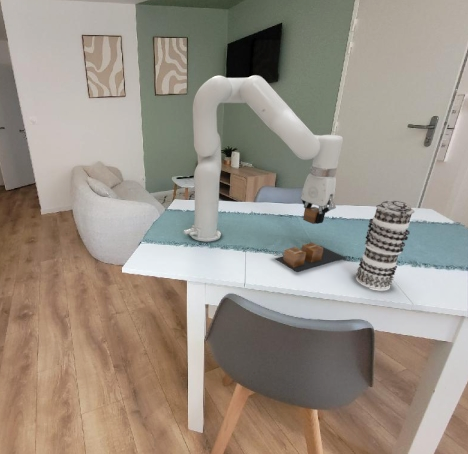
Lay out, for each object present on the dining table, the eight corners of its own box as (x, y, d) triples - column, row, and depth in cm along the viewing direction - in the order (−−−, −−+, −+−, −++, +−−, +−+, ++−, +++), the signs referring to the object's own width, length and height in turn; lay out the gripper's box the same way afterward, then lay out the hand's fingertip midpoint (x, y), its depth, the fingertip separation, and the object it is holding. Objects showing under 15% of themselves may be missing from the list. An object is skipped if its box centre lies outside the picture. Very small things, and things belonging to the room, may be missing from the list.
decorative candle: (348, 273, 92) (367, 198, 82) (381, 275, 90) (404, 198, 81) (362, 290, 84) (386, 208, 74) (398, 292, 82) (427, 209, 72)
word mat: (296, 273, 93) (297, 272, 93) (274, 259, 102) (274, 258, 102) (345, 258, 100) (346, 257, 100) (320, 247, 109) (321, 246, 109)
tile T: (313, 224, 106) (315, 212, 104) (303, 219, 110) (305, 208, 108) (322, 222, 107) (325, 210, 105) (312, 217, 111) (314, 206, 109)
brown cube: (310, 262, 98) (313, 250, 96) (300, 256, 102) (302, 245, 100) (321, 259, 100) (323, 247, 98) (309, 254, 104) (312, 242, 102)
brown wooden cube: (293, 267, 96) (295, 255, 94) (282, 261, 100) (284, 249, 98) (303, 264, 97) (306, 252, 95) (293, 258, 101) (295, 246, 99)
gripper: (295, 168, 107) (287, 214, 114) (337, 178, 93) (325, 230, 100) (311, 166, 110) (302, 211, 117) (354, 176, 95) (340, 227, 102)
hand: (312, 219), depth 108 cm, fingers closed on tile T, 4 cm apart
